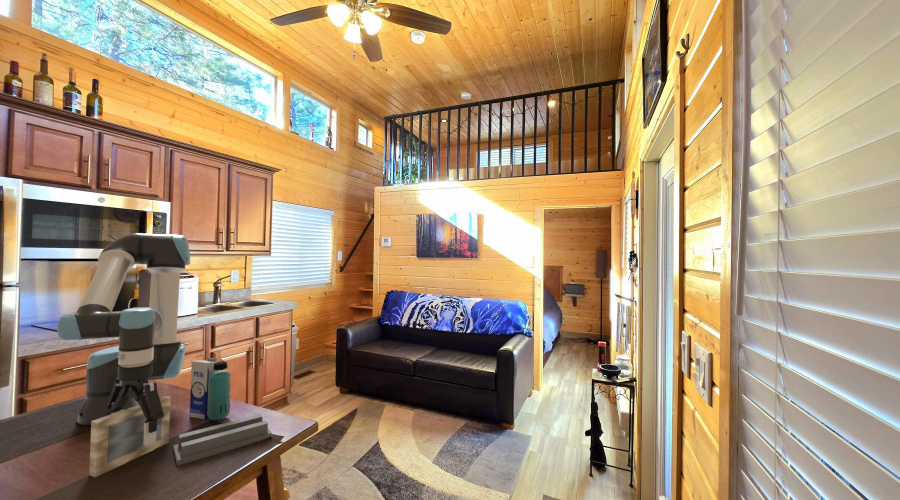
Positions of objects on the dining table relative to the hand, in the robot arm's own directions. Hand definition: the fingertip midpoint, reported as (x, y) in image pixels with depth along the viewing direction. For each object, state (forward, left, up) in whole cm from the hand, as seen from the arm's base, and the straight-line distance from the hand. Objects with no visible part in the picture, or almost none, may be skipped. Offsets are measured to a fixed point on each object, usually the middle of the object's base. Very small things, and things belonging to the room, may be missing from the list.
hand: (132, 438), depth 101 cm
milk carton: (-26, +8, -5) cm, 28 cm away
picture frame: (0, 0, -5) cm, 5 cm away
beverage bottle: (-21, +14, -5) cm, 26 cm away
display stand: (-4, +22, -5) cm, 23 cm away
